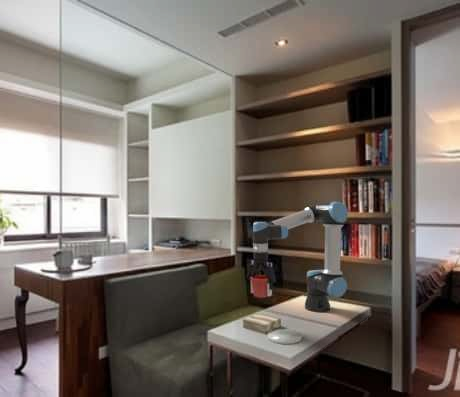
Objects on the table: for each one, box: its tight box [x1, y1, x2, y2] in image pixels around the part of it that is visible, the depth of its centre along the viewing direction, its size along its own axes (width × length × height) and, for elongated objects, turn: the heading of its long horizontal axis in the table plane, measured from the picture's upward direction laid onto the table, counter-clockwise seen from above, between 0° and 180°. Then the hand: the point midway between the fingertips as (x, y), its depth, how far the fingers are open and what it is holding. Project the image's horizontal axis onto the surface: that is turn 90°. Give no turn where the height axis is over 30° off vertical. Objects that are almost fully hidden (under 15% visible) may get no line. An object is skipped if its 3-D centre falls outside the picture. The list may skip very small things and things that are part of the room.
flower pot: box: [251, 274, 269, 298], centre depth 178 cm, size 11×11×10 cm
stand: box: [242, 312, 282, 334], centre depth 178 cm, size 14×14×4 cm
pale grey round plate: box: [267, 328, 303, 345], centre depth 163 cm, size 16×16×1 cm
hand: (261, 294), depth 178 cm, fingers closed on flower pot, 10 cm apart
